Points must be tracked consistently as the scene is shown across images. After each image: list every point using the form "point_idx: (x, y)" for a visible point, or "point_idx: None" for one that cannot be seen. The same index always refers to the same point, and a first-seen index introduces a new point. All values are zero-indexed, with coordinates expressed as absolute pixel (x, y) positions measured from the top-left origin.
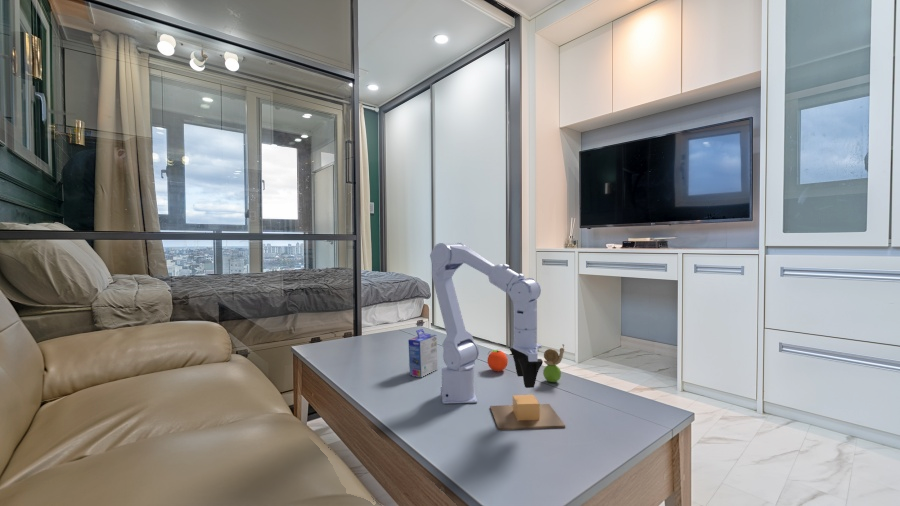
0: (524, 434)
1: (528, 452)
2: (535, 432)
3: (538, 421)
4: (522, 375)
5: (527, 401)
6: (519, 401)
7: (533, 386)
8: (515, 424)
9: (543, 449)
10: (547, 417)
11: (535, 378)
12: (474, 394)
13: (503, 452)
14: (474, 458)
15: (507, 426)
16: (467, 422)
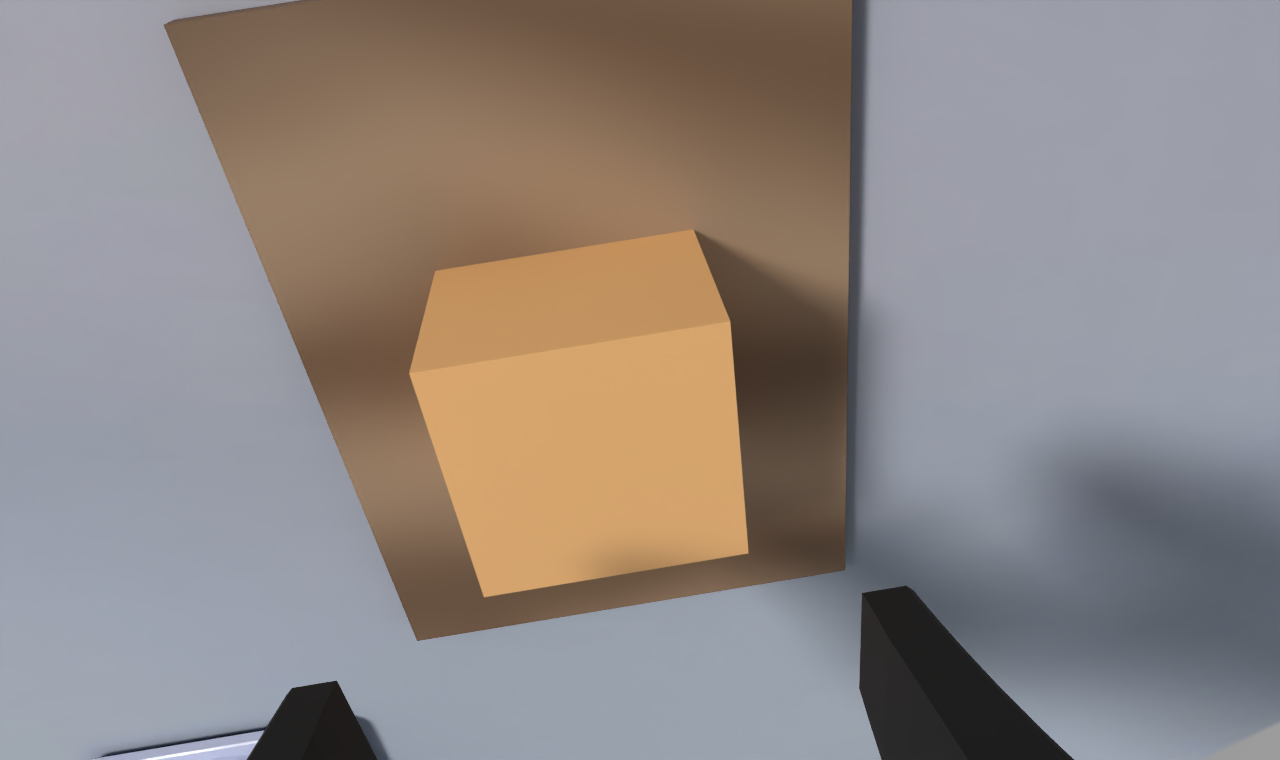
0: (934, 379)
1: (1214, 368)
2: (912, 284)
3: (737, 246)
4: (350, 734)
5: (662, 456)
6: (668, 536)
7: (923, 606)
8: (794, 455)
9: (1214, 249)
10: (628, 125)
11: (1023, 720)
12: (191, 757)
13: (1156, 520)
14: (1167, 652)
15: (825, 512)
16: (707, 726)
